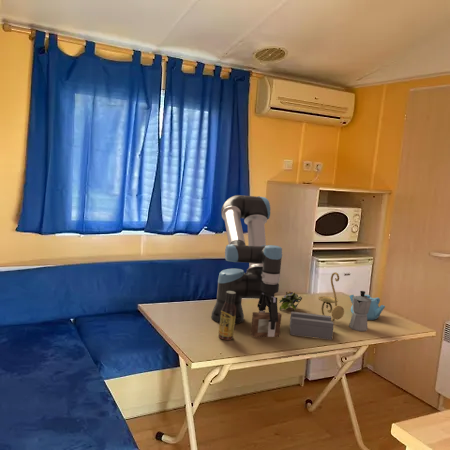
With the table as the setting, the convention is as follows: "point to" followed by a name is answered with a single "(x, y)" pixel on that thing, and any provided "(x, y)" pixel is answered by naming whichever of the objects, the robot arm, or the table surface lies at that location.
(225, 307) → the sauce bottle
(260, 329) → the picture frame
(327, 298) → the wall sconce
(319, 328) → the picture ledge
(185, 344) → the table surface
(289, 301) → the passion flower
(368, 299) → the coffee maker
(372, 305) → the teapot
